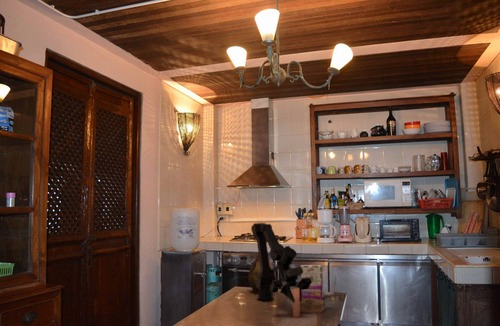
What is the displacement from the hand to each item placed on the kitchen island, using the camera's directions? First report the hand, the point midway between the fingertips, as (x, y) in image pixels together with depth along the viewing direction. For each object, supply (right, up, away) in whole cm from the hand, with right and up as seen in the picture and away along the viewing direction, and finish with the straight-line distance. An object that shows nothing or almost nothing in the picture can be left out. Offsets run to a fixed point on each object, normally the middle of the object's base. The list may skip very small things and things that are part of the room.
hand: (297, 301), depth 170 cm
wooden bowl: (+8, -8, +12) cm, 16 cm away
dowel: (0, -7, +1) cm, 7 cm away
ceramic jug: (-14, -12, +49) cm, 52 cm away
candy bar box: (+12, -10, +35) cm, 38 cm away
